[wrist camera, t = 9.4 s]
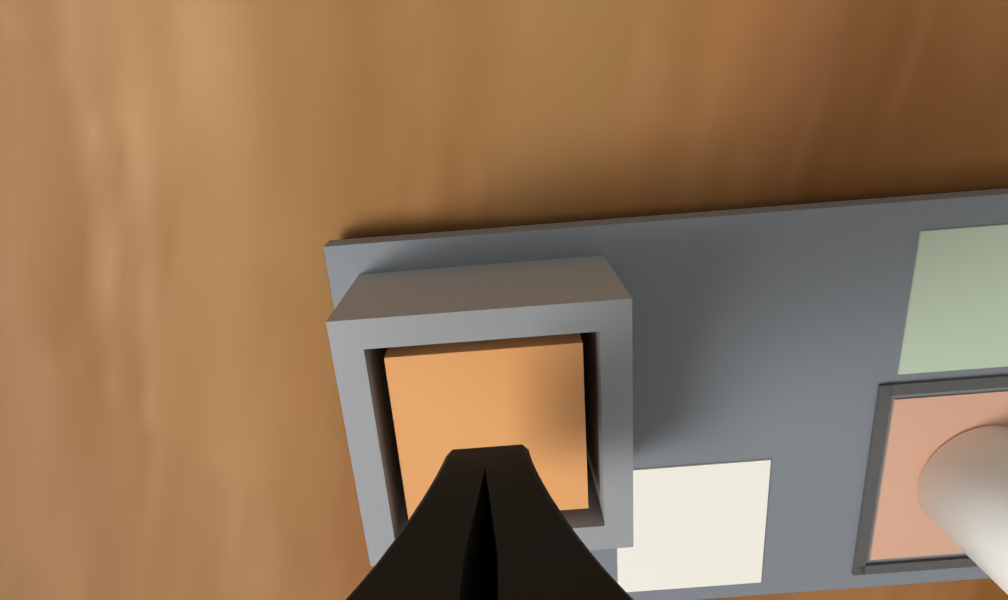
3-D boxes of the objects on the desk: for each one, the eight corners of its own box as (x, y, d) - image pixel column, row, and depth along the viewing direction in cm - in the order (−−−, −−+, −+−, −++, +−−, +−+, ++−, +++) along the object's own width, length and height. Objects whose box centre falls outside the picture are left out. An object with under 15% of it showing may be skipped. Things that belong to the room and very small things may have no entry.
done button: (573, 445, 15) (588, 508, 13) (420, 456, 15) (408, 521, 13) (568, 300, 14) (582, 342, 12) (401, 313, 14) (383, 357, 12)
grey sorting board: (1110, 552, 18) (1255, 662, 15) (392, 605, 18) (369, 726, 15) (1230, 170, 14) (1460, 197, 11) (329, 240, 14) (280, 288, 11)
